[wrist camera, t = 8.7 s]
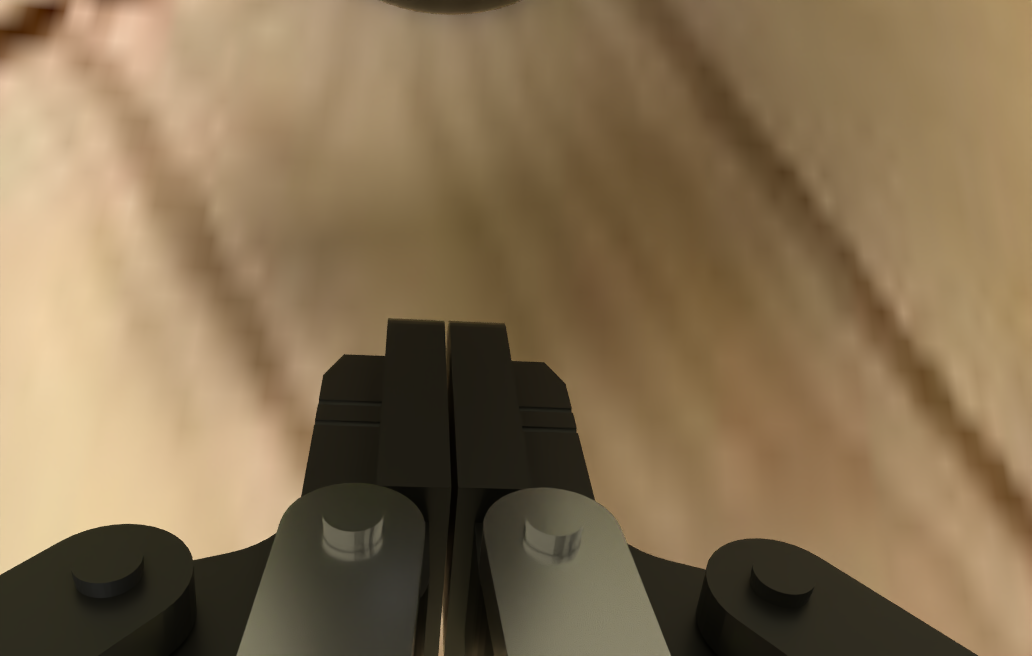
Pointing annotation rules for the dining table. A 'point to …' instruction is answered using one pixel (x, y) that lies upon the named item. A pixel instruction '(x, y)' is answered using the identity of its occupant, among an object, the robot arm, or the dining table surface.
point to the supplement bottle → (451, 5)
